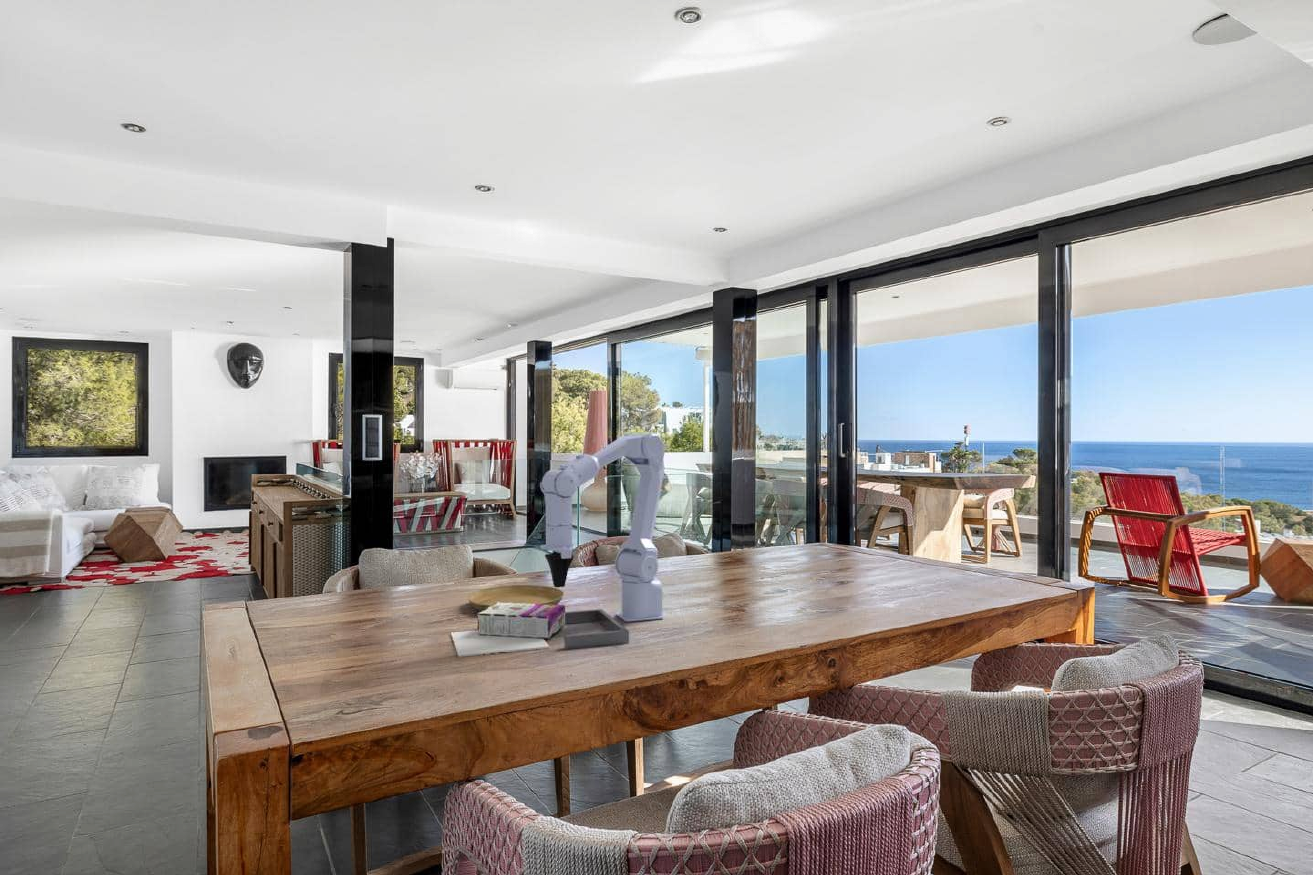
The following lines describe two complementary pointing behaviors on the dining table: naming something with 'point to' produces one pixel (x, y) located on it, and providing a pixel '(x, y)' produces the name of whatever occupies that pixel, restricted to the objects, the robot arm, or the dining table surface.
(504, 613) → the candy bar box
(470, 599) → the plant saucer
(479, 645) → the mat
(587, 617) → the gray u-shaped frame
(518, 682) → the dining table surface
